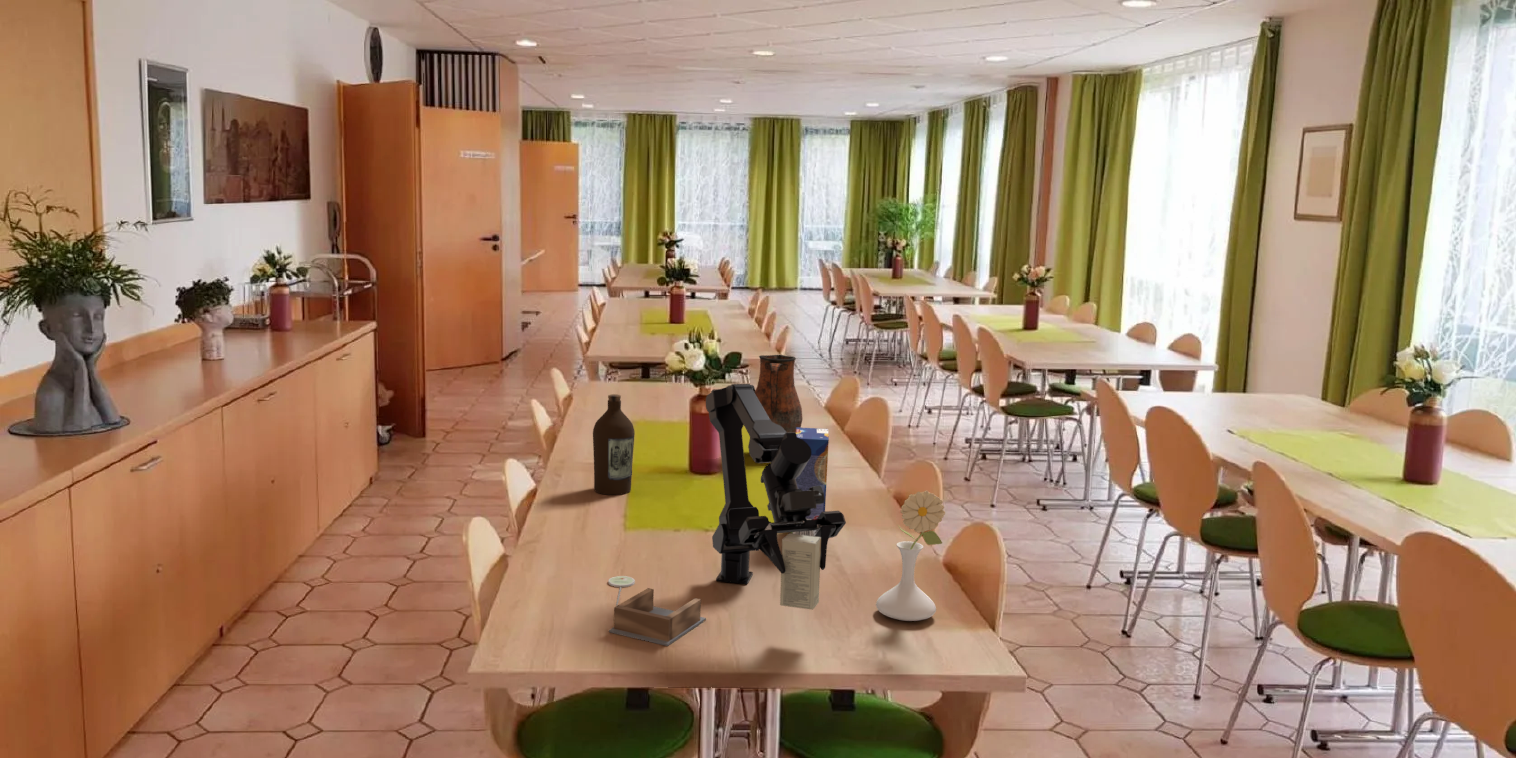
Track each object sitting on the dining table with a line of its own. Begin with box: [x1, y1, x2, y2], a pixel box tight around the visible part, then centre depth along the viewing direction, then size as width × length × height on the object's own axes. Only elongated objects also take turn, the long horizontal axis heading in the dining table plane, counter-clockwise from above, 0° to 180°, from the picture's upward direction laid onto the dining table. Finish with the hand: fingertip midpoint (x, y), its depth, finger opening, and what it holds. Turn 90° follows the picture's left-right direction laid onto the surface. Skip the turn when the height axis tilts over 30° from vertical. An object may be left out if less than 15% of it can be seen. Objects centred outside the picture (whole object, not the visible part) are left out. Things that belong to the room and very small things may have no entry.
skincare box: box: [779, 532, 821, 611], centre depth 201 cm, size 6×4×12 cm
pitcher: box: [755, 354, 803, 433], centre depth 337 cm, size 17×21×30 cm
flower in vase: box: [875, 490, 946, 622], centre depth 214 cm, size 13×11×25 cm
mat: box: [608, 605, 707, 647], centre depth 207 cm, size 14×12×1 cm
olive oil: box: [592, 393, 635, 496], centre depth 294 cm, size 11×11×25 cm
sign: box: [607, 575, 636, 606], centre depth 223 cm, size 5×1×15 cm
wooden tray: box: [613, 587, 702, 642], centre depth 206 cm, size 12×11×4 cm
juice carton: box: [790, 427, 830, 536], centre depth 263 cm, size 12×8×24 cm, turn 177°
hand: (803, 570), depth 200 cm, fingers closed on skincare box, 7 cm apart
